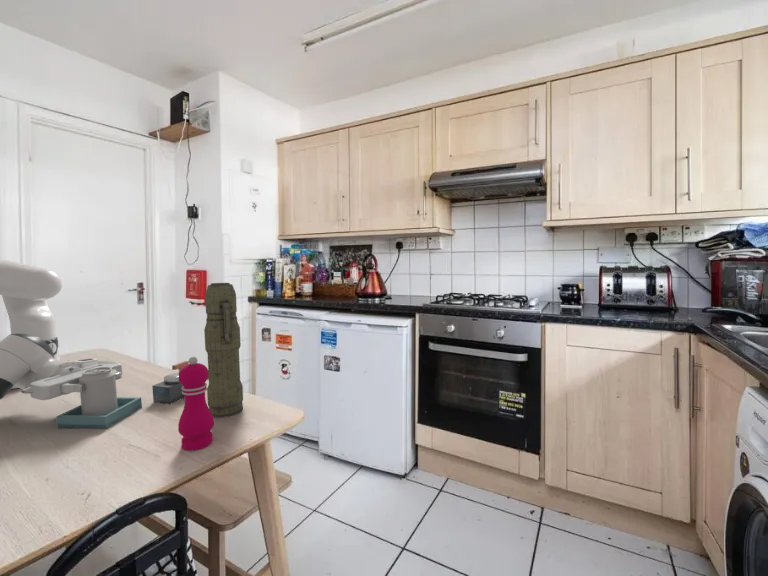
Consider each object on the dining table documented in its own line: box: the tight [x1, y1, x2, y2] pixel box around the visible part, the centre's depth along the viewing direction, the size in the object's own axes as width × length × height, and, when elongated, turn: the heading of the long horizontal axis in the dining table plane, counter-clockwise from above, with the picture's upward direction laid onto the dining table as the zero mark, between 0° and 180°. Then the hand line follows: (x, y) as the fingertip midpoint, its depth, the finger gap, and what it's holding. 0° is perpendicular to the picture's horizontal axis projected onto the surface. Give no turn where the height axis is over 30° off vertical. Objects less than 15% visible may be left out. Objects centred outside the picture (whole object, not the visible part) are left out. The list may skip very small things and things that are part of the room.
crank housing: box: [151, 360, 189, 405], centre depth 112 cm, size 7×12×10 cm, turn 165°
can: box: [79, 367, 118, 415], centre depth 97 cm, size 8×8×12 cm
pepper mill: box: [177, 356, 215, 452], centre depth 83 cm, size 7×7×20 cm
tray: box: [56, 396, 143, 430], centre depth 98 cm, size 13×13×3 cm
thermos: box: [203, 282, 244, 418], centre depth 100 cm, size 9×12×35 cm
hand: (101, 381), depth 97 cm, fingers open, 8 cm apart
